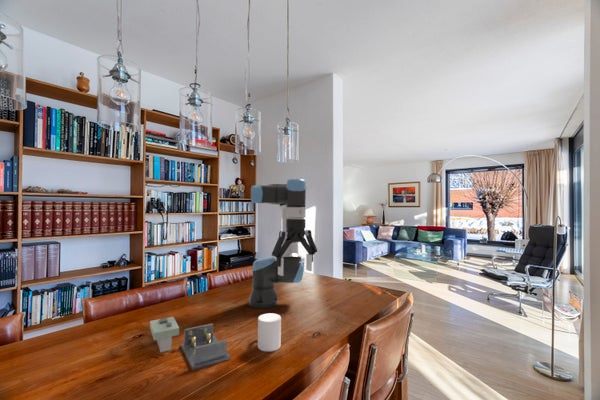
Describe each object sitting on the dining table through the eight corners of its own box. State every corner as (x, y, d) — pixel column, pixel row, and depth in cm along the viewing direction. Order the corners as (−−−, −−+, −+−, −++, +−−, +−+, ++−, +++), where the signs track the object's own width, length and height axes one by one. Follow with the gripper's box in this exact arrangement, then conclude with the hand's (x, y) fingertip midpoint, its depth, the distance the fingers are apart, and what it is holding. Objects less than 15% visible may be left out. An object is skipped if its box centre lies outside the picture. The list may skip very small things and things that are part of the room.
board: (149, 327, 105) (150, 318, 105) (173, 322, 109) (173, 314, 110) (153, 340, 95) (153, 330, 95) (179, 334, 99) (179, 324, 99)
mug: (263, 323, 97) (250, 312, 107) (263, 354, 96) (250, 339, 107) (285, 318, 101) (270, 308, 111) (284, 348, 101) (270, 335, 111)
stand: (156, 340, 105) (157, 327, 105) (166, 338, 107) (167, 325, 107) (160, 352, 97) (160, 337, 97) (171, 349, 99) (171, 335, 99)
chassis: (180, 345, 101) (181, 329, 102) (214, 337, 108) (214, 322, 108) (192, 370, 86) (192, 350, 87) (230, 359, 93) (230, 340, 93)
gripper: (273, 219, 101) (272, 279, 100) (326, 218, 115) (325, 270, 115) (263, 218, 107) (262, 274, 106) (314, 217, 121) (314, 267, 121)
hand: (295, 272), depth 111 cm, fingers open, 13 cm apart
